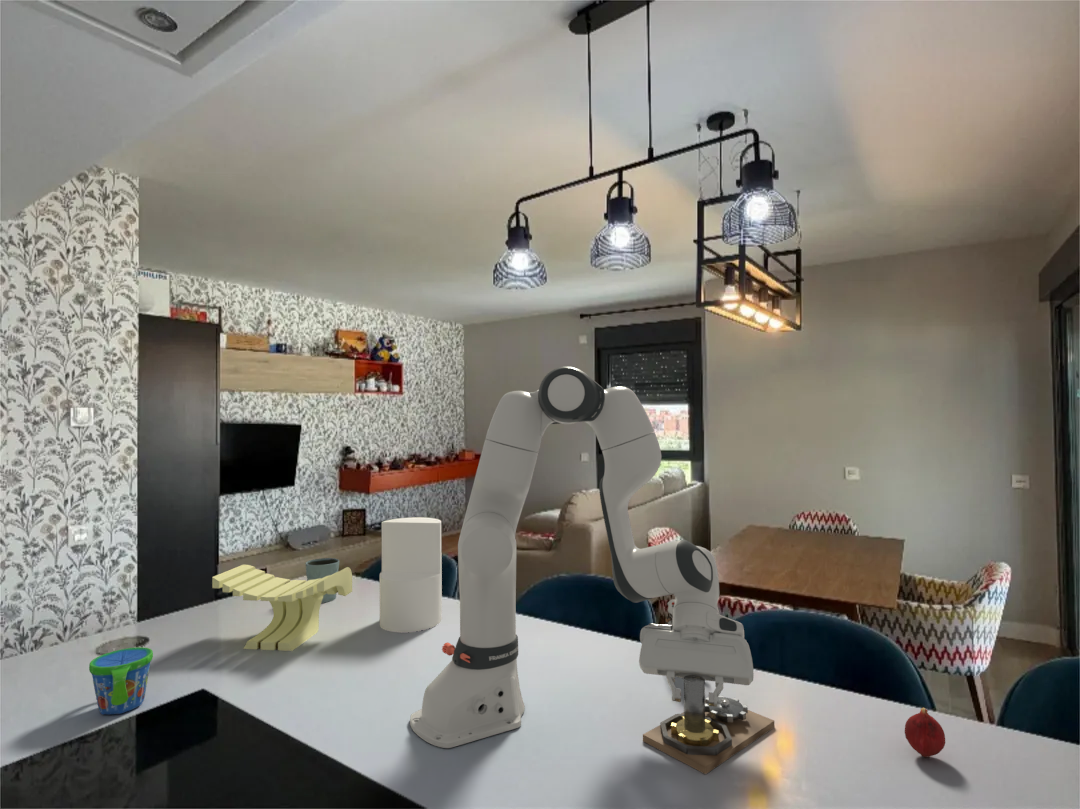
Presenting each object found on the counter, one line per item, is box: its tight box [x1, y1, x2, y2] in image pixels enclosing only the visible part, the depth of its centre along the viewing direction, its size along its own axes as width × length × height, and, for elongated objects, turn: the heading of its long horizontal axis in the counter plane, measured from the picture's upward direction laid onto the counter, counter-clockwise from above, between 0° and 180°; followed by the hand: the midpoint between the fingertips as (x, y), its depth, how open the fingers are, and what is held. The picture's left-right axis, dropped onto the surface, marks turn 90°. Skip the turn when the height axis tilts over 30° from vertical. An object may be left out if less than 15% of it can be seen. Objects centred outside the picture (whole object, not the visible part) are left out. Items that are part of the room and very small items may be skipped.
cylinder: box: [379, 516, 443, 634], centre depth 169 cm, size 17×17×28 cm
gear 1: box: [671, 675, 719, 746], centre depth 105 cm, size 8×8×10 cm
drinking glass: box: [305, 557, 340, 604], centre depth 191 cm, size 10×10×12 cm
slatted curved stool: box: [211, 564, 353, 652], centre depth 157 cm, size 30×16×18 cm, turn 83°
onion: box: [904, 707, 946, 758], centre depth 101 cm, size 6×6×8 cm
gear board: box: [642, 709, 775, 775], centre depth 108 cm, size 22×13×2 cm, turn 130°
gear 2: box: [705, 694, 749, 722], centre depth 111 cm, size 8×8×3 cm
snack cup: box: [88, 646, 154, 715], centre depth 120 cm, size 16×10×10 cm
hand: (694, 702), depth 105 cm, fingers open, 5 cm apart
